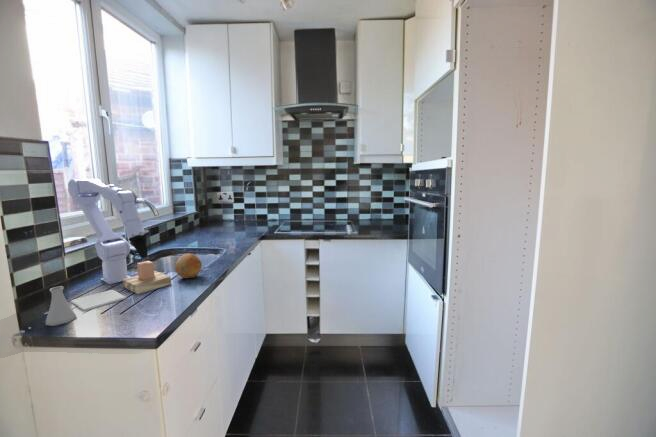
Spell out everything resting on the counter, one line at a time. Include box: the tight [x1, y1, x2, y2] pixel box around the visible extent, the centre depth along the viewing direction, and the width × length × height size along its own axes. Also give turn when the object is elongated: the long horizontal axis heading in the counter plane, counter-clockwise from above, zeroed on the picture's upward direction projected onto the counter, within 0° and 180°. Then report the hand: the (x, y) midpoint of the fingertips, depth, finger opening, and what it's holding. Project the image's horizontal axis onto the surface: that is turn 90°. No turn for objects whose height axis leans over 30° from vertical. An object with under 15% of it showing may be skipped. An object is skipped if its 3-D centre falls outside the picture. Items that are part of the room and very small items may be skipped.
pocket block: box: [122, 270, 172, 295], centre depth 120 cm, size 12×12×3 cm
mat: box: [70, 289, 127, 312], centre depth 107 cm, size 12×12×1 cm
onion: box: [174, 253, 202, 279], centre depth 127 cm, size 10×10×10 cm
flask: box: [45, 285, 77, 327], centre depth 92 cm, size 7×7×10 cm
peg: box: [136, 260, 155, 281], centre depth 119 cm, size 4×4×9 cm
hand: (144, 256), depth 117 cm, fingers open, 7 cm apart
